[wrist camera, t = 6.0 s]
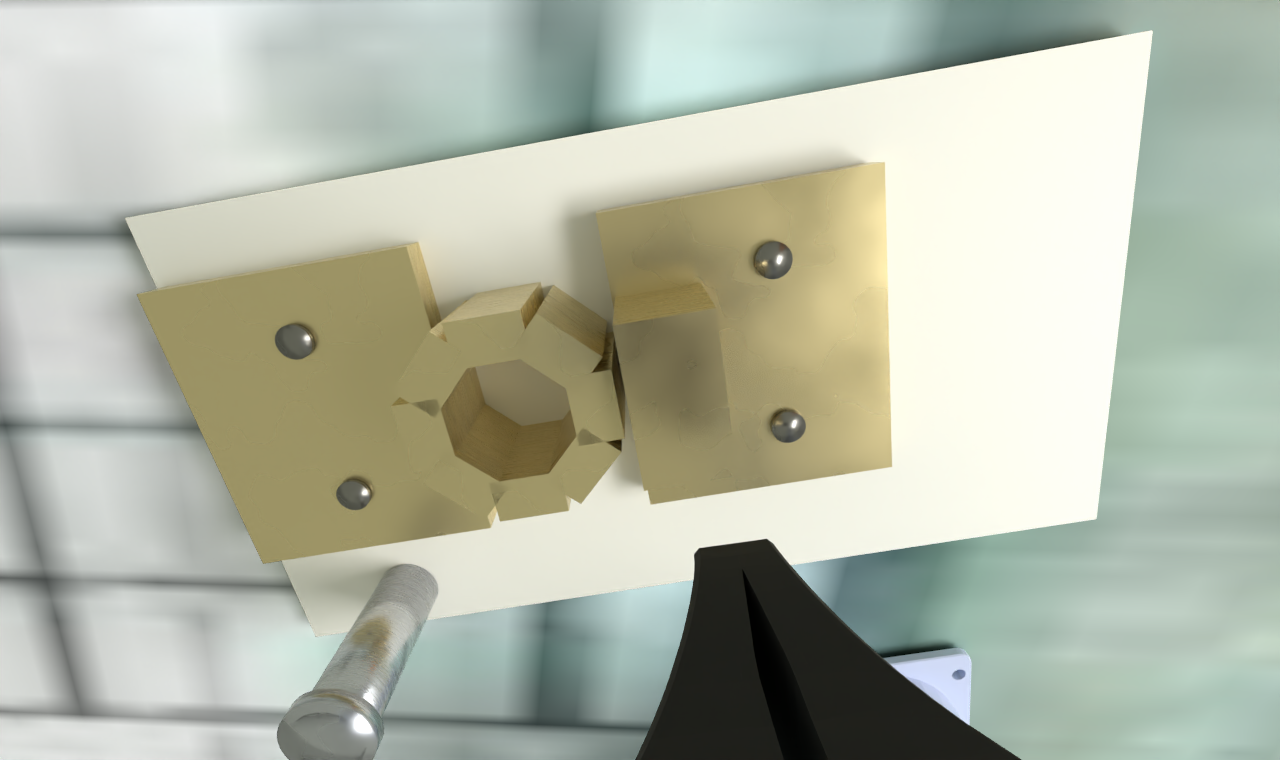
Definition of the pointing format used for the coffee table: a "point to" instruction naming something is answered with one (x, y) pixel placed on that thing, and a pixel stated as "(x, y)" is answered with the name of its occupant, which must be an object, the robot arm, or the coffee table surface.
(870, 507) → the board
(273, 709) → the coffee table surface
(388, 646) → the pin
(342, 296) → the fixed leaf
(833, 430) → the loose leaf
